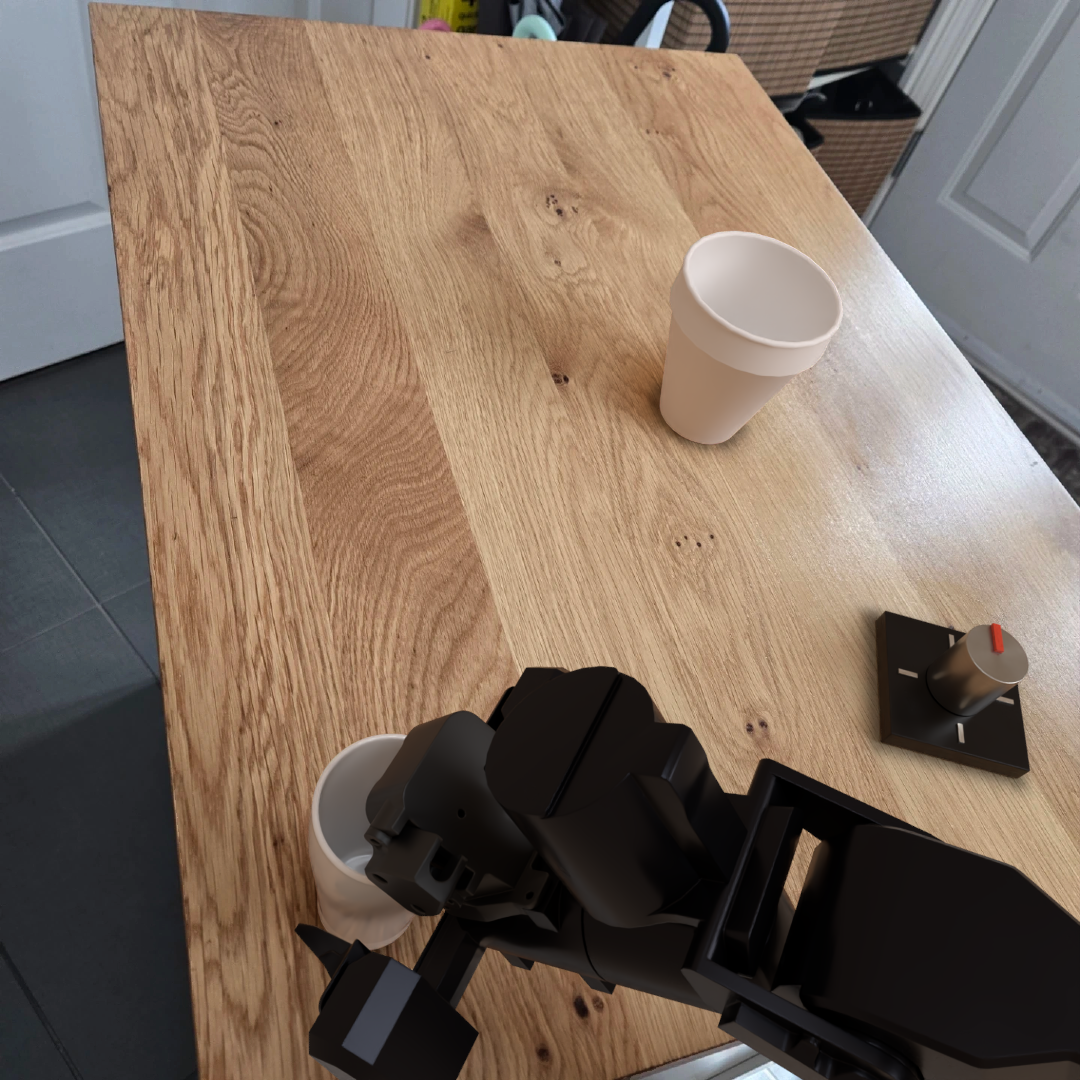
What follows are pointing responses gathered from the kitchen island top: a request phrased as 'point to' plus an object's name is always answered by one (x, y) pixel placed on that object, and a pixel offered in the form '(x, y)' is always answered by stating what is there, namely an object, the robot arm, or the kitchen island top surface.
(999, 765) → the hob panel
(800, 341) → the cup
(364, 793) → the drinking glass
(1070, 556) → the kitchen island top surface
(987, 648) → the hob knob
